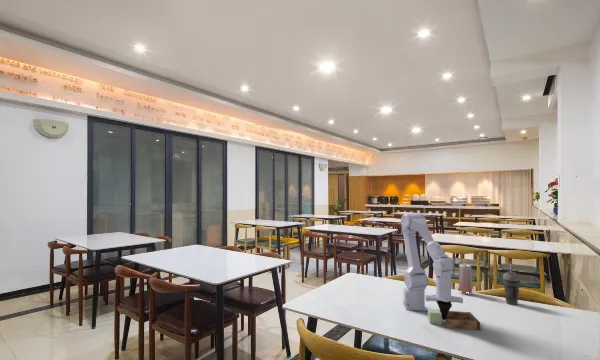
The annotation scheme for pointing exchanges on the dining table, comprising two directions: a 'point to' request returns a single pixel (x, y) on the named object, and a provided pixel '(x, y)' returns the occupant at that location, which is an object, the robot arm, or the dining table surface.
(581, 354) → the dining table surface
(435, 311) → the cube
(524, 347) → the dining table surface
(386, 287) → the dining table surface
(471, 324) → the frame
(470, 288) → the beverage can
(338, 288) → the dining table surface
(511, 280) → the beverage cup
